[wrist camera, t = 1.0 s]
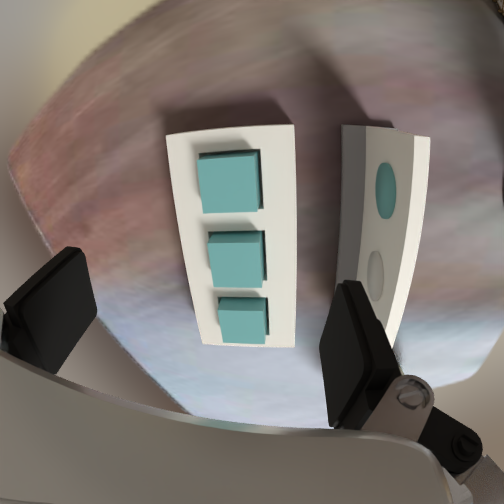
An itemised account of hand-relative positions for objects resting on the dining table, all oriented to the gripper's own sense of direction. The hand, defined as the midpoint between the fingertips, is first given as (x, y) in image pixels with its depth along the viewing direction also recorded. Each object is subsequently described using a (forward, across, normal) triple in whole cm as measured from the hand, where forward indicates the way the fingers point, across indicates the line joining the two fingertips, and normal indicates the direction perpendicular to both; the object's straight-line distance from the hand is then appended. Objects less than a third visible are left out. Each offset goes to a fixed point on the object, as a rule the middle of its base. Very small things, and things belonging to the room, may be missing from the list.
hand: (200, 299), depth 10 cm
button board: (+23, 0, +8) cm, 24 cm away
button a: (+20, +1, 0) cm, 20 cm away
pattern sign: (+22, -14, +6) cm, 27 cm away
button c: (+20, -1, +16) cm, 26 cm away
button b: (+20, 0, +8) cm, 22 cm away
